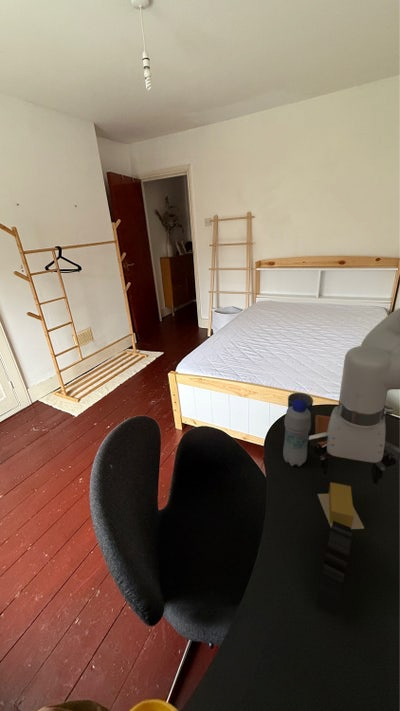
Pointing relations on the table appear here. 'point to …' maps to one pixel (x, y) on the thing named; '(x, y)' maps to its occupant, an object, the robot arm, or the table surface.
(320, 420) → the brown wooden tray
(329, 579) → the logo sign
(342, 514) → the yellow block
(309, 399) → the cup
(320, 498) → the cloth
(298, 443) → the bottle
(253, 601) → the table surface
